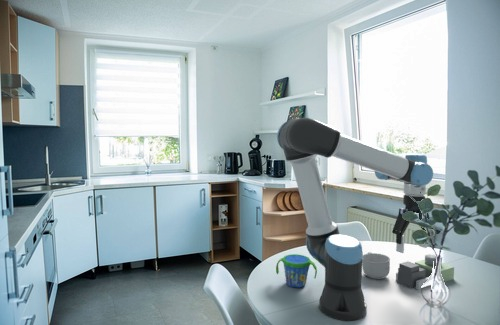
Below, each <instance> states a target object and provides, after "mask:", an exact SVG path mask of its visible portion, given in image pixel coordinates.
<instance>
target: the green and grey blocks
mask: <svg viewBox="0 0 500 325" xmlns="http://www.w3.org/2000/svg"><path fill="white" fill-rule="evenodd" d="M435 255H436V254H430V253H429V254H425V255H424V259H421V260H419V261H415V262H414V264H417V265H420V266H419V267H420V268H423V269H425V278H424V279H421V280H417V281H416V288H415V289H416V290H419V291H420V290H422V289H421V286H422V285H423V283H425V282H426V281H427V280H428V278H429V276H430V275H431V273H432V268H433V261H434V269H435V266H436V256H435ZM442 259H443V258H442V257H441V274H442V277H443V279H444V281H445V282H444V283H446V282H450V281H453V280H454V279H455V266H453V265H449V264H446V263H443V262H442ZM395 281H397V282H398V271H397V272H396V273H395Z"/></svg>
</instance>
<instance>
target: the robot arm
mask: <svg viewBox="0 0 500 325" xmlns="http://www.w3.org/2000/svg"><path fill="white" fill-rule="evenodd" d="M276 138H277V139H276V140H277V143H278V145H279V147H280V148H281V149H282V151H283V153H284V157H285V161H286V162H288V163H289V164H291V166H292V171H293V174H294V177H295V178H294V179H295V181H296V187H297V189H298V193H299V196H300V197H299V198H300V199H301V204H302V207H303V211H304V216H305V218H306V222H307V224H308V225H307V228H306V230H305V234H306V239H305V246H306V249H307V251H308V253H309V255H311V257H312V258H313V259H314V260H316V262H318V263H319V264H320V265H322V266H323V268H324V273H325V274H324V275H325V276H324V287H323V289H322V293H321V295H320V297H319V300H318V301H319V302H318V305H319V306H318V307H319V308H318V309H320V311H321V312H322V313H323V314H324V315H326V316H328V317H330V318H333V319H335V320H341V321H356V320H360V319H363V318H364V317H365V316H367V310H368V309H367V306H368V305H367V302H366V300H365V296H364V295H365V294H364V292H363V289H362V288H363V287H362V281H363V279H362V277H363V275H362V274H363V267H362V258H363V255H364V254H363V245H362V243H361V242H360V241H359V239H357V238H355V237H353V236H349V235H346V234H340V231H339V227H338V224H337V223H336V222H334V221H333V220H332V217H331V213H330V209H329V206H328V202H327V198H326V197H327V196H326V194H325V193H326V192H325V190H324V186H323V182H322V179H321V178H322V177H321V175H320V171H319V170H320V169H319V168H318V163H317V159H316V158H317V156H320V157H325V158H331V157H334V158H337V159H340V160H342V161H345V162H347V163H350V164H354V165H357V166H359V167H363V168H365V169H368V170H372V171H374V175H375V177H376V178H377V179H378V180H382V181H383V180H384V181H387V180H388V181H389V180H391V181H397V182H401V183H403V196H402V197H403V200H402V201H403V202H402V203H403V205H405V207H404V208H402V207H400V208H398V213H397V214H398V215H397V217H396V221H395V223H394V224H393V225H394V226H393V228H392V231H391V233H392V234H395V236H396V237H395V238H396V239H395V243H396V246H395V247H396V248H395V250H396V252H398V253H401V254H404V251H405V234H404V233H405V231H406V230H407V229H408V226H409V224H410V223H411V222H409V221H406V220H404V219H403V218H402V214H403V213H405V212H408V211H413V212H416V213H419V219H420V220H421V219H422V213H421V211H420V209H419V207H418V204H417V203H416V202H414V201H413V200H412V199H411V198H410V197H409V196H412V197H413V198H414V199H415V200H416V201H421V200H422V199H425V200H426V196H425V195H426V186H427V185H428V184H430V183H431V181H432V180H433V177H434V170H433V168H432V166H431V165H430V164H428V157H427V155H425V154H419V153H418V154H417V153H408V154H406V155H405V157H404V156H402V155H399V154H397V153H393V152H391V151H388V150H385V149H382V148H379V147H377V146H374V145H373V144H372V145H371V144H369V143H366V142H364V141H361V140H358V139H356V138H352V137H351V136H348V135H345V134H342V133H341V130H339V129H338V128H335V127H333V126H331V125H328V124H325V123H323V122H321V121H319V120H316V119H314V118H310V117H299V118H291V119H288V120H286V121H285V122H284V123H282V125H281V126H280V127H279V128H278V131H277V134H276ZM415 185H421V188H415V187H413V186H415ZM420 191H421V194H420ZM427 218H428V219H430V218H431V217H430V215H429V212H428V213H427ZM430 220H431V219H430ZM420 230H425V229H424V228H422V227H420ZM425 231H426V230H425ZM419 247H421V248H424V249H426V248H428V243H427V244H419Z"/></svg>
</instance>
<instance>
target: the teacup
mask: <svg viewBox="0 0 500 325" xmlns="http://www.w3.org/2000/svg"><path fill="white" fill-rule="evenodd" d="M390 260H391V258H390V256H388V255H386V254H381V253H373V252H371V251H369V252H367V253H366V254H363V258H362V273H363V274H364V275H366V276H367V277H369V279H373V280H382V279H385V278H386V277H387V276H388V275H389V274H390V270H391V269H390V268H391V267H390V263H391V262H390Z"/></svg>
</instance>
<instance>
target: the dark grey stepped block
mask: <svg viewBox="0 0 500 325" xmlns="http://www.w3.org/2000/svg"><path fill="white" fill-rule="evenodd" d="M419 266H420V265H417V264H415V262H411V261H409V260H408V261H404V262H401V263H399V266H398V268H397V272H398V281H397V284H399V285H402V286H403V287H406V288H408V289H411V290H412V289H416V281H417V280H421V279H424V278H425V269H423V268H420V267H419Z"/></svg>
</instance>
